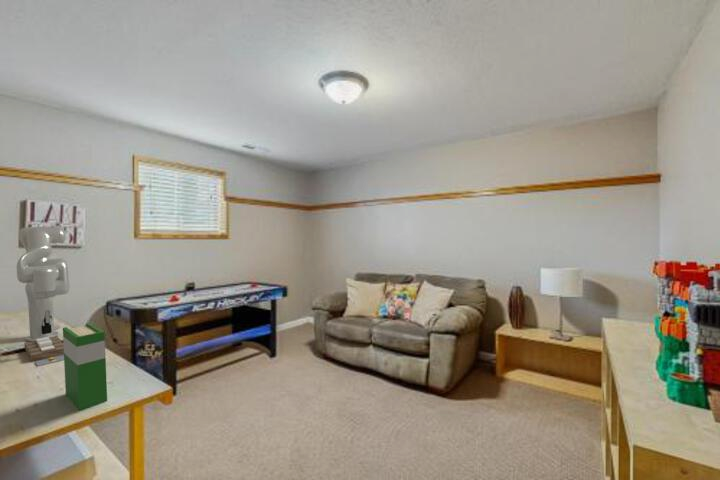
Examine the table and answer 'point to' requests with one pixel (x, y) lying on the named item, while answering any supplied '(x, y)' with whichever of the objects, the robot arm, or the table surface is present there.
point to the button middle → (44, 343)
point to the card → (49, 360)
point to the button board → (37, 354)
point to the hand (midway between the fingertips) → (46, 333)
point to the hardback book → (85, 365)
